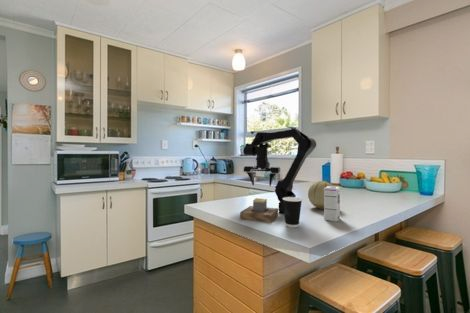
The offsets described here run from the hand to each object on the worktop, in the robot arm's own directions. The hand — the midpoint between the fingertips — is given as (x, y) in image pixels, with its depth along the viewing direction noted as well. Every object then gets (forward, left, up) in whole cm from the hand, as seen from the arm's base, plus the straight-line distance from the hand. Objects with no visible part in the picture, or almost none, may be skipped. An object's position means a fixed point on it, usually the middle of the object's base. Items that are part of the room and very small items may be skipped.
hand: (261, 185), depth 133 cm
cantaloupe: (-30, -13, -12) cm, 35 cm away
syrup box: (-35, +8, -12) cm, 38 cm away
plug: (-4, +17, -12) cm, 21 cm away
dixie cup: (-20, +25, -12) cm, 34 cm away
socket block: (-4, +17, -12) cm, 21 cm away
